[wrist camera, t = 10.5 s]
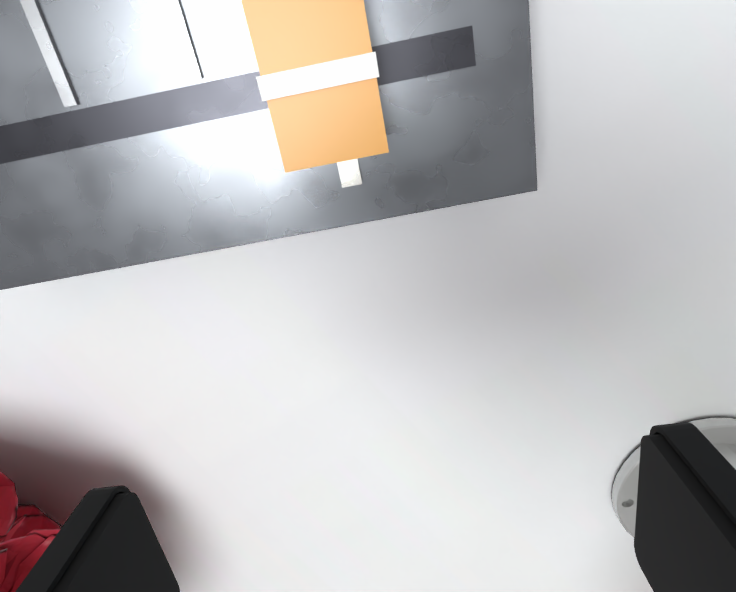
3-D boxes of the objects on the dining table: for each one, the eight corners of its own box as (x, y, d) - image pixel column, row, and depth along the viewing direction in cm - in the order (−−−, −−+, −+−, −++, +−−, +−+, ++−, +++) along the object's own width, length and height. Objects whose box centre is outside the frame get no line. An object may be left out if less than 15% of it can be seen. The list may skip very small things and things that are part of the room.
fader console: (495, -131, 22) (522, -174, 18) (515, 175, 28) (539, 191, 24) (-102, 11, 25) (-191, -1, 21) (29, 266, 30) (-22, 295, 26)
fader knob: (362, -12, 20) (360, -39, 15) (386, 136, 23) (392, 152, 18) (264, 10, 21) (233, -10, 16) (299, 153, 23) (281, 174, 18)
